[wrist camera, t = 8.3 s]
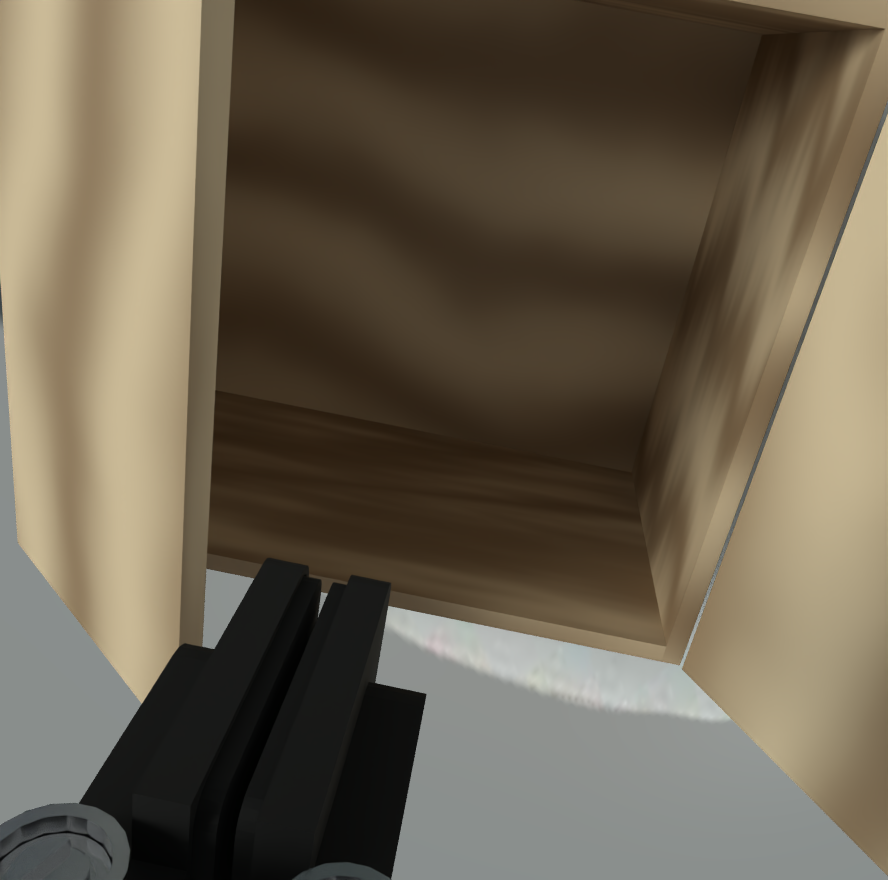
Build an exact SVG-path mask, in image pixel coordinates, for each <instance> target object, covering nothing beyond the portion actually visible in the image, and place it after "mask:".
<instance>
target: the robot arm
mask: <svg viewBox="0 0 888 880" xmlns="http://www.w3.org/2000/svg"><path fill="white" fill-rule="evenodd" d="M321 588H322V581H321V579H316V578H311V577H309V567H308V565H303V564H298V563H293V562H288V561H283V560H278V559H274V558H267V559H266V560H265V561H264V563H263V564H262V566H261V568H260V570H259V572H258V573H257V575H256V577H255V579H254V580H253V582H252V584H251V586H250V587H249V589H248V591H247V593H246V594H245V596H244V598H243V600H242V602H241V603H240V605H239V607H238V609H237V610H236V612H235V614H234V616H233V617H232V619H231V621H230V623H229V624H228V626H227V628H226V630H225V631H224V633H223V635H222V637H221V639H220V640H219V642H218V644H217V645H216V647H215V649H210V648H205V647H201V646H196V645H191V644H186V643H184V644H182V645H181V646H179V647H178V649H177V650H176V651H175V653H174V654H173V655H172V657H171V659H170V660H169V662H168V663H167V665H166V666H165V668H164V670H163V671H162V673H161V674H160V676H159V677H158V679H157V681H156V682H155V684H154V685H153V687H152V689H151V690H150V692H149V693H148V695H147V696H146V698H145V700H144V701H143V703H142V705H141V706H140V708H139V709H138V711H137V712H136V714H135V715H134V717H133V719H132V720H131V722H130V723H129V725H128V727H127V728H126V730H125V731H124V733H123V734H122V736H121V738H120V739H119V741H118V742H117V744H116V746H115V747H114V749H113V750H112V752H111V754H110V755H109V757H108V758H107V760H106V761H105V763H104V765H103V766H102V768H101V769H100V771H99V772H98V774H97V776H96V777H95V779H94V780H93V782H92V783H91V785H90V787H89V788H88V790H87V791H86V793H85V795H84V796H83V798H82V799H81V801H80V802H79V804H77V803H66V804H65V803H64V804H50V805H46V806H43V807H39V808H35V809H32V810H28V811H25V812H24V813H22V814H20V815H18V816H16V817H14V818H12V819H10V820H8V821H6V822H4V823H3V824H1V825H0V880H391V877H392V872H393V866H394V861H395V856H396V851H397V845H398V840H399V835H400V830H401V824H402V819H403V814H404V809H405V803H406V798H407V793H408V788H409V783H410V777H411V772H412V767H413V762H414V757H415V751H416V746H417V741H418V736H419V731H420V725H421V720H422V715H423V710H424V705H425V699H426V694H424V693H419V692H415V691H410V690H405V689H400V688H396V687H391V686H386V685H381V684H377V683H375V681H376V675H377V669H378V662H379V657H380V651H381V644H382V639H383V633H384V627H385V622H386V616H387V610H388V604H389V598H390V592H391V583H390V582H385V581H380V580H375V579H371V578H366V577H361V576H356V575H351V576H350V578H349V580H348V583H347V585H345V584H340V583H336V582H333V583H332V585H331V587H330V590H329V592H328V595H327V597H326V600H325V602H324V604H323V607H322V609H321V612H320V614H319V617H318V612H319V603H320V596H321Z"/></svg>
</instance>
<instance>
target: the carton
mask: <svg viewBox="0 0 888 880" xmlns="http://www.w3.org/2000/svg"><path fill="white" fill-rule="evenodd" d="M887 101H888V0H235V8H234V28H233V48H232V68H231V88H230V108H229V127H228V147H227V167H226V187H225V207H224V226H223V246H222V266H221V286H220V306H219V326H218V345H217V365H216V385H215V405H214V425H213V444H212V464H211V484H210V504H209V524H208V544H207V563H206V569H211V570H216V571H221V572H225V573H230V574H235V575H240V576H245V577H250V578H255V577H256V575H257V573H258V572H259V570H260V568H261V566H262V564H263V563H264V561H265V560H266V559H267V558H274V559H278V560H283V561H288V562H293V563H298V564H303V565H308V567H309V577H311V578H316V579H321V581H322V588H321V592H323V593H328V592H329V590H330V587H331V585H332V583H333V582H336V583H340V584H345V585H347V583H348V580H349V578H350V576H351V575H356V576H361V577H366V578H371V579H375V580H380V581H385V582H390V583H391V592H390V598H389V604H388V606H392V607H397V608H402V609H407V610H412V611H416V612H421V613H426V614H431V615H436V616H441V617H446V618H451V619H456V620H461V621H465V622H470V623H475V624H480V625H485V626H490V627H495V628H500V629H505V630H509V631H514V632H519V633H524V634H529V635H534V636H539V637H544V638H549V639H554V640H558V641H563V642H568V643H573V644H578V645H583V646H588V647H593V648H598V649H603V650H607V651H612V652H617V653H622V654H627V655H632V656H637V657H642V658H647V659H651V660H656V661H661V662H666V663H671V664H676V665H680V663H681V660H682V658H683V655H684V652H685V650H686V647H687V644H688V641H689V639H690V636H691V633H692V630H693V628H694V625H695V622H696V620H697V617H698V614H699V611H700V609H701V606H702V603H703V601H704V598H705V595H706V592H707V590H708V587H709V584H710V582H711V579H712V576H713V573H714V571H715V568H716V565H717V563H718V560H719V557H720V554H721V552H722V549H723V546H724V544H725V541H726V538H727V535H728V533H729V530H730V527H731V525H732V522H733V519H734V516H735V514H736V511H737V508H738V505H739V503H740V500H741V497H742V495H743V492H744V489H745V486H746V484H747V481H748V478H749V476H750V473H751V470H752V467H753V465H754V462H755V459H756V457H757V454H758V451H759V448H760V446H761V443H762V440H763V438H764V435H765V432H766V429H767V427H768V424H769V421H770V419H771V416H772V413H773V410H774V408H775V405H776V402H777V400H778V397H779V394H780V391H781V389H782V386H783V383H784V381H785V378H786V375H787V372H788V370H789V367H790V364H791V361H792V359H793V356H794V353H795V351H796V348H797V345H798V342H799V340H800V337H801V334H802V332H803V329H804V326H805V323H806V321H807V318H808V315H809V313H810V310H811V307H812V304H813V302H814V299H815V296H816V294H817V291H818V288H819V285H820V283H821V280H822V277H823V275H824V272H825V269H826V266H827V264H828V261H829V258H830V256H831V253H832V250H833V247H834V245H835V242H836V239H837V236H838V234H839V231H840V228H841V226H842V223H843V220H844V217H845V215H846V212H847V209H848V207H849V204H850V201H851V198H852V196H853V193H854V190H855V188H856V185H857V182H858V179H859V177H860V174H861V171H862V169H863V166H864V163H865V160H866V158H867V155H868V152H869V150H870V147H871V144H872V141H873V139H874V136H875V133H876V131H877V128H878V125H879V122H880V120H881V117H882V114H883V112H884V109H885V106H886V103H887Z"/></svg>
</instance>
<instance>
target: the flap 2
mask: <svg viewBox="0 0 888 880" xmlns="http://www.w3.org/2000/svg"><path fill="white" fill-rule="evenodd" d="M682 670H683V671H684V672H685V673H686V674H687V675H688V676H689V677H690V678H691V679H692V680H693V681H694V682H695V683H696V684H697V685H698V686H699V687H700V688H701V689H702V690H703V691H704V692H705V693H706V694H707V695H708V696H709V697H710V698H711V699H712V700H713V701H714V702H715V703H716V704H717V705H718V706H719V707H720V708H721V709H722V710H723V711H724V712H725V713H726V714H727V715H728V716H729V717H730V718H731V719H732V720H733V721H734V722H735V723H736V724H737V725H738V726H739V727H740V728H741V729H742V730H743V731H744V732H745V733H746V734H747V735H748V736H749V737H750V738H751V739H752V740H753V741H754V742H755V743H756V744H757V745H758V746H759V747H760V748H761V749H762V750H763V751H764V752H765V753H766V754H767V755H768V756H769V757H770V758H771V759H772V760H773V761H774V762H775V763H776V764H777V765H778V766H779V767H780V768H781V769H782V770H783V771H784V772H785V773H786V774H787V775H788V776H789V777H790V778H791V779H792V780H793V781H794V782H795V783H796V784H797V785H798V786H799V787H800V788H801V789H802V790H803V791H804V792H805V793H806V794H807V795H808V796H809V797H810V798H811V799H812V800H813V801H814V802H815V803H816V804H817V805H818V806H819V807H820V808H821V809H822V810H823V811H824V812H825V813H826V814H827V815H828V816H829V817H830V818H831V819H832V820H833V821H834V822H835V823H836V824H837V825H838V826H839V827H840V828H841V829H842V830H843V831H844V832H845V833H846V834H847V835H848V836H849V837H850V838H851V839H852V840H853V841H854V842H855V843H856V845H858V847H859V848H860V849H861V850H863V852H864V853H865V854H867V856H868V857H870V858H871V860H873V862H875V864H877V866H878V867H879V868H880V869H881V870H882V871H883V872H884V873H885V874H886V875H887V876H888V114H887V117H886V120H885V122H884V125H883V128H882V130H881V133H880V136H879V139H878V141H877V144H876V147H875V149H874V152H873V155H872V157H871V160H870V163H869V166H868V168H867V171H866V174H865V176H864V179H863V182H862V184H861V187H860V190H859V193H858V195H857V198H856V201H855V203H854V206H853V209H852V211H851V214H850V217H849V220H848V222H847V225H846V228H845V230H844V233H843V236H842V238H841V241H840V244H839V247H838V249H837V252H836V255H835V257H834V260H833V263H832V265H831V268H830V271H829V274H828V276H827V279H826V282H825V284H824V287H823V290H822V292H821V295H820V298H819V301H818V303H817V306H816V309H815V311H814V314H813V317H812V319H811V322H810V325H809V328H808V330H807V333H806V336H805V338H804V341H803V344H802V346H801V349H800V352H799V354H798V357H797V360H796V363H795V365H794V368H793V371H792V373H791V376H790V379H789V381H788V384H787V387H786V390H785V392H784V395H783V398H782V400H781V403H780V406H779V408H778V411H777V414H776V417H775V419H774V422H773V425H772V427H771V430H770V433H769V435H768V438H767V441H766V444H765V446H764V449H763V452H762V454H761V457H760V460H759V462H758V465H757V468H756V471H755V473H754V476H753V479H752V481H751V484H750V487H749V489H748V492H747V495H746V498H745V500H744V503H743V506H742V508H741V511H740V514H739V516H738V519H737V522H736V525H735V527H734V530H733V533H732V535H731V538H730V541H729V543H728V546H727V549H726V552H725V554H724V557H723V560H722V562H721V565H720V568H719V570H718V573H717V576H716V579H715V581H714V584H713V587H712V589H711V592H710V595H709V597H708V600H707V603H706V606H705V608H704V611H703V614H702V616H701V619H700V622H699V624H698V627H697V630H696V633H695V635H694V638H693V641H692V643H691V646H690V649H689V651H688V654H687V657H686V660H685V662H684V665H683V668H682Z"/></svg>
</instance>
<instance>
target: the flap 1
mask: <svg viewBox="0 0 888 880" xmlns="http://www.w3.org/2000/svg"><path fill="white" fill-rule="evenodd" d="M234 8H235V0H0V279H1V294H2V309H3V325H4V340H5V355H6V370H7V385H8V399H9V416H10V431H11V445H12V460H13V476H14V490H15V506H16V520H17V521H16V522H17V537H18V543H19V545H20V546H21V547H22V549H23V550H24V551H25V552H26V554H27V555H28V556H29V558H30V559H31V560H32V562H33V563H34V564H35V565H36V567H37V568H38V569H39V570H40V572H41V573H42V575H43V576H44V577H45V578H46V580H47V581H48V582H49V584H50V585H51V586H52V588H53V589H54V590H55V591H56V593H57V594H58V595H59V597H60V598H61V599H62V601H63V602H64V603H65V604H66V606H67V607H68V608H69V610H70V611H71V612H72V614H73V615H74V616H75V617H76V619H77V620H78V621H79V623H80V624H81V625H82V627H83V628H84V629H85V630H86V632H87V633H88V634H89V636H90V637H91V638H92V640H93V641H94V642H95V643H96V645H97V646H98V647H99V649H100V650H101V651H102V652H103V654H104V655H105V656H106V658H107V659H108V660H109V662H110V663H111V664H112V665H113V667H114V668H115V669H116V671H117V672H118V673H119V674H120V676H121V677H122V678H123V680H124V681H125V682H126V684H127V685H128V686H129V687H130V689H131V690H132V692H133V693H134V694H135V695H136V697H137V698H138V699H139V701H140V702H141V703H143V701H144V700H145V698H146V696H147V695H148V693H149V692H150V690H151V689H152V687H153V685H154V684H155V682H156V681H157V679H158V677H159V676H160V674H161V673H162V671H163V670H164V668H165V666H166V665H167V663H168V662H169V660H170V659H171V657H172V655H173V654H174V653H175V651H176V650H177V649H178V647H179V646H181V645H182V644H184V643H186V644H191V645H196V646H201V647H202V643H203V642H202V641H203V623H204V602H205V583H206V563H207V544H208V524H209V504H210V484H211V464H212V444H213V425H214V405H215V385H216V365H217V345H218V326H219V306H220V286H221V266H222V246H223V226H224V207H225V187H226V167H227V147H228V127H229V108H230V88H231V68H232V48H233V28H234Z"/></svg>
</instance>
